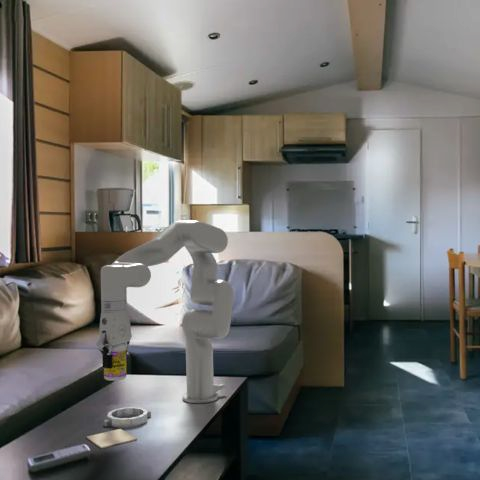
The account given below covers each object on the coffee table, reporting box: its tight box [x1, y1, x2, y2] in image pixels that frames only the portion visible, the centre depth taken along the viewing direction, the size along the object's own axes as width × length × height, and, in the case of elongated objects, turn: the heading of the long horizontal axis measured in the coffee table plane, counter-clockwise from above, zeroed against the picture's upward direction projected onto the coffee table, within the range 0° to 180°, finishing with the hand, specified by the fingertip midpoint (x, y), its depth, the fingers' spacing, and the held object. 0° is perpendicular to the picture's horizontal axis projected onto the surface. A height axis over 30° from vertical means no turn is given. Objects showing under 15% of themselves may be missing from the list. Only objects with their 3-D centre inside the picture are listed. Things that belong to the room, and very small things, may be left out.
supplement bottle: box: [103, 343, 127, 382], centre depth 191 cm, size 7×7×13 cm
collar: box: [103, 406, 152, 429], centre depth 202 cm, size 15×12×2 cm
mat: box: [85, 428, 138, 449], centre depth 186 cm, size 11×11×1 cm
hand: (115, 364), depth 191 cm, fingers closed on supplement bottle, 6 cm apart
